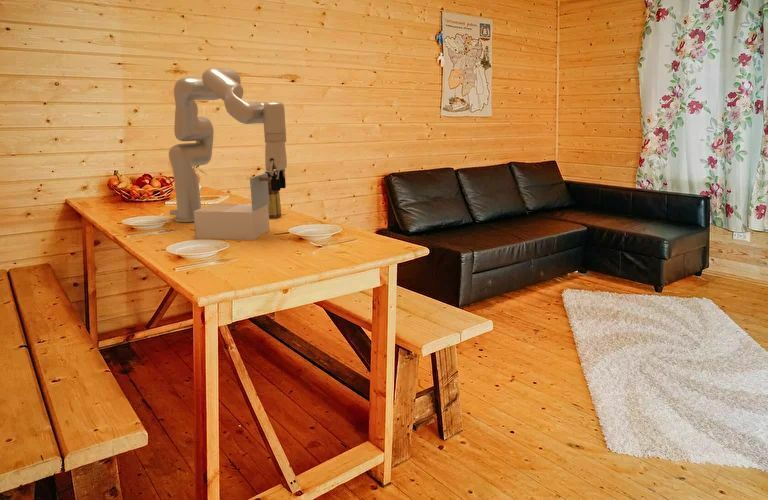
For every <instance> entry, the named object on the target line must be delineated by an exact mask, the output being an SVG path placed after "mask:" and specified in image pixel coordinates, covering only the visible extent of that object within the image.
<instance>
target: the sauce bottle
mask: <svg viewBox="0 0 768 500" xmlns="http://www.w3.org/2000/svg"><path fill="white" fill-rule="evenodd" d="M264 173H267V176H268V177H270V173H269V171H267V170H265V171H264ZM268 190H269V204H268V212H269V219H279V218H281V217H282V207H281V195H280V191H272V190H271V183H269V182H268Z"/></svg>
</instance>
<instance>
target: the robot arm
mask: <svg viewBox="0 0 768 500" xmlns="http://www.w3.org/2000/svg"><path fill="white" fill-rule="evenodd" d="M241 81H242V80H241V77H240V75H239V73H238V72H237V71H236V70H235V69H233V68H227V67H225V68H223V67H211V68H208V69H205V70H204V72H203V73H202V75H201V77H199V76H197V77H195V76H192V77H191V76H189V77H181V78H179V79H178V80H176V82H175V84H174V87H173V98H174V104H175V109H174V112H175V113H174V124H173V125H174V128H173V129H174V137H175V138H176V139H177V140H178V141H181V142H187V143H179V144H178V143H177V144H175V145H173V146H171V147H170V149H169V151H168V158H169V162H170V165H171V170H172V173H173V181H174V190H175V191H174V192H175V199H176V200H175V201H176V207H177V208H176V209H170V211H169V216H174V222H177V223H194V217H193V211H195V210H198V209H200V208H202V204H201V203H202V202H201V194H200V193H201V191H200V183H199V176H198V174H197V172H196V171H195V170H194V168H193V167H199V166H204V165H207V164H209V163H210V161H211V160H212V155H213V147H214V146H213V143H214V132H215V131H214V126H213V123H212V121H211V120H210V119H209V118H208V117H204V116H198V115H199V108H198V107H199V106H198V104H197V102H196V101H216V100H222V101H223V102H224V104H223V105H224V107H225V109H226V112H227V114H229V115H230V116H231V117H232V118H233V119H235V120H236V121H237V122H239V123H241V124H244V125H253V124H255V125H256V124H257V125H258V124H260V125H261V124H263V135H264V143H265V150H264V151H265V153H264V158H265V161H264V162H265V163H264V164H265V171H269V173H270V179H271V190H272V191H279V192H280V191H281V189H286V187H287V185H286V184H287V183H286V168H287V166H288V163H287V152H286V151H287V150H286V149H287V148H286V144H285V143H287V131H286V112H285V104H284V103H283V102H280V101H276V102H275V101H273V102H272V101H269V102H268V101H244V100H242V98H243V95H244V87H243V85H242V84H241ZM188 142H189V143H188Z"/></svg>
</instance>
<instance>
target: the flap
mask: <svg viewBox="0 0 768 500" xmlns="http://www.w3.org/2000/svg"><path fill="white" fill-rule="evenodd" d="M268 182H269V183H271V179H270V177H268V176H267V173H265V172H264V173H262V174H258V175H256V176H253V177H251V178H249V185H250V186H249V187H250V196H251V197H250V199H251V204H252V211H255V210H257V209H259V208H261V207H263V206H265V205H267V204H269V190H268Z"/></svg>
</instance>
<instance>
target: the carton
mask: <svg viewBox="0 0 768 500" xmlns="http://www.w3.org/2000/svg"><path fill="white" fill-rule="evenodd" d="M193 217H194V222H193V223H194V225H193V226H194V234H195V235H194V236H195V238H196V239H203V240H209V238H212V239H211V240H241V241H242V240H244V241H245V240H246V241H255V240H256V239H258V238H260V237H261V236H263V235H264V234H266V233H267V232H269V231H270V229H271V228H270V218H269V212H268V204H267V205H265V206H263V207H261V208H259V209H257V210H255V211H252V203H215V202H214V203H210V204H208V205H205V206H203V207H201V208H200V209H198V210H195V211H193Z"/></svg>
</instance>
